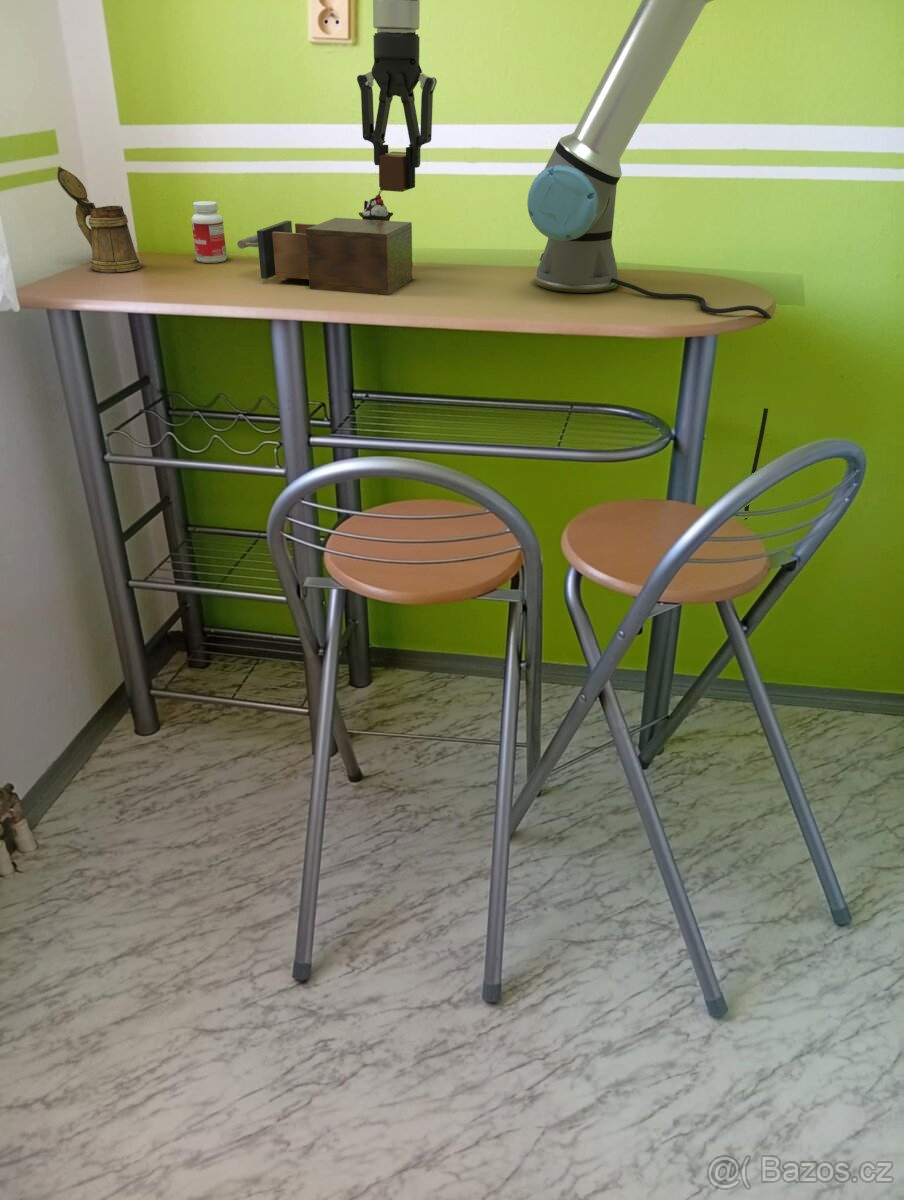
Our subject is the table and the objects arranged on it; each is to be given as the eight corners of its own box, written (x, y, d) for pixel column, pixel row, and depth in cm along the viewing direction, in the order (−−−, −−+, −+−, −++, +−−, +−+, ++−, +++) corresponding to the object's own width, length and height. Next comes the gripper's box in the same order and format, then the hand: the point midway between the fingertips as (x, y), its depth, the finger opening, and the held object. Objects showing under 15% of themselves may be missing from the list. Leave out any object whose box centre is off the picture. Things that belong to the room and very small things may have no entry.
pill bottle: (191, 260, 194) (183, 202, 188) (218, 256, 197) (212, 199, 192) (205, 264, 190) (197, 205, 184) (232, 261, 193) (226, 203, 188)
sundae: (393, 271, 186) (391, 188, 179) (359, 270, 186) (355, 188, 179) (395, 264, 192) (393, 184, 184) (362, 264, 192) (359, 183, 185)
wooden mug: (88, 261, 192) (71, 164, 183) (148, 265, 189) (134, 166, 180) (63, 270, 185) (43, 169, 175) (125, 274, 182) (108, 172, 173)
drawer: (233, 276, 177) (228, 228, 172) (262, 264, 187) (258, 218, 182) (331, 284, 172) (328, 235, 167) (356, 271, 182) (354, 224, 177)
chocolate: (402, 192, 163) (402, 156, 160) (379, 190, 164) (379, 155, 161) (415, 187, 168) (415, 152, 165) (392, 185, 169) (392, 151, 166)
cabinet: (309, 288, 173) (305, 228, 167) (338, 274, 184) (335, 217, 178) (388, 295, 169) (386, 234, 164) (412, 279, 180) (411, 222, 175)
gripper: (454, 33, 155) (450, 187, 167) (355, 30, 159) (359, 181, 171) (440, 32, 149) (437, 193, 161) (338, 29, 153) (343, 186, 165)
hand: (397, 186), depth 166 cm, fingers closed on chocolate, 4 cm apart
